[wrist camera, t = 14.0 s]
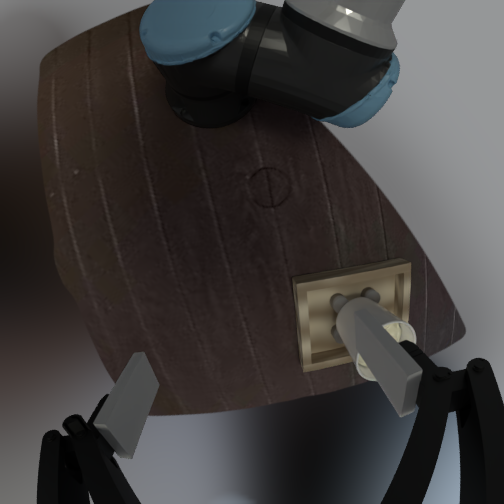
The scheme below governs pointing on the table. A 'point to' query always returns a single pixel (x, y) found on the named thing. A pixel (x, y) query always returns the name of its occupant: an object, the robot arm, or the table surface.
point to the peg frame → (335, 297)
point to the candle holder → (383, 316)
